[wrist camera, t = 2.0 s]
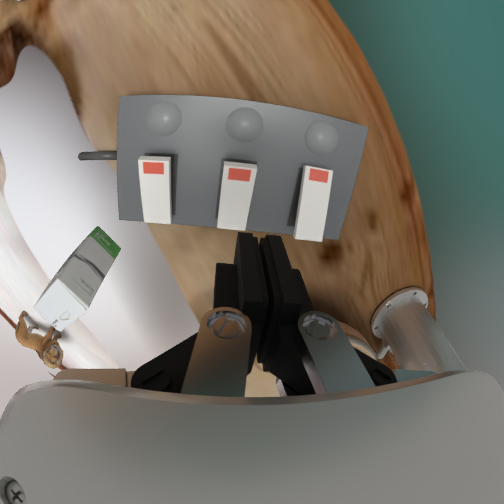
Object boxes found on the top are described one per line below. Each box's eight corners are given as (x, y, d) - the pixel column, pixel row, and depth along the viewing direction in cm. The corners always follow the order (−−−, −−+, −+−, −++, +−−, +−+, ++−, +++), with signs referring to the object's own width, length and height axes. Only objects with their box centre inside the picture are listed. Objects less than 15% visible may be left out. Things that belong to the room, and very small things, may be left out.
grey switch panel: (330, 228, 35) (338, 240, 32) (84, 207, 30) (73, 217, 27) (357, 124, 27) (369, 127, 25) (81, 100, 23) (68, 101, 20)
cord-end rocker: (172, 219, 29) (170, 224, 28) (146, 217, 28) (144, 222, 28) (170, 157, 23) (168, 161, 23) (140, 155, 23) (137, 160, 22)
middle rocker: (244, 225, 30) (245, 231, 29) (217, 223, 29) (216, 228, 29) (256, 164, 24) (257, 169, 24) (224, 161, 24) (223, 165, 23)
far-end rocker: (319, 239, 29) (322, 242, 28) (293, 237, 29) (295, 239, 28) (330, 170, 27) (333, 170, 26) (303, 165, 27) (306, 165, 26)
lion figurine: (70, 325, 41) (53, 361, 34) (75, 342, 44) (61, 377, 36) (16, 307, 38) (-3, 337, 31) (23, 324, 41) (7, 354, 33)
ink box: (98, 223, 32) (56, 276, 21) (123, 249, 34) (90, 308, 24) (68, 256, 34) (31, 308, 24) (90, 278, 36) (60, 334, 26)
